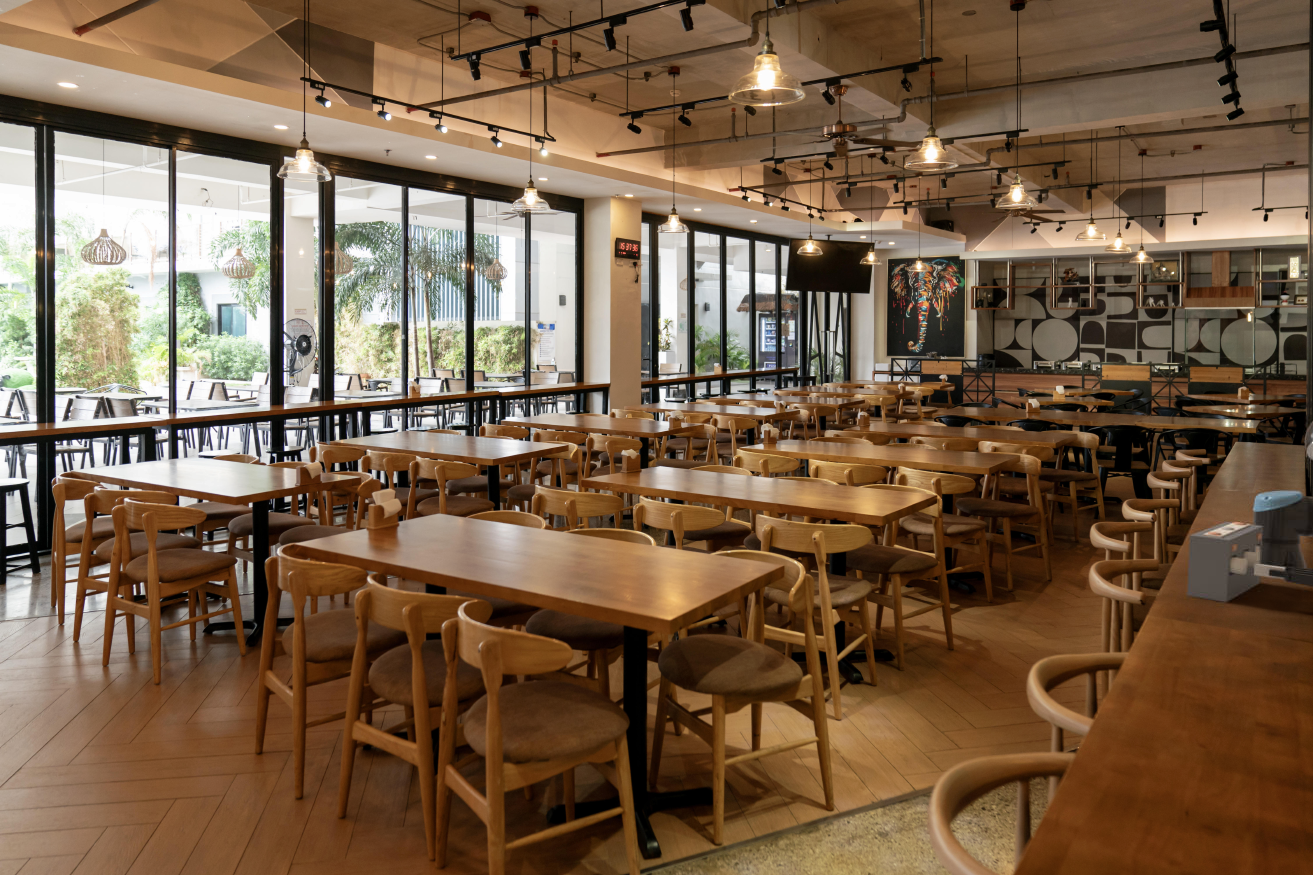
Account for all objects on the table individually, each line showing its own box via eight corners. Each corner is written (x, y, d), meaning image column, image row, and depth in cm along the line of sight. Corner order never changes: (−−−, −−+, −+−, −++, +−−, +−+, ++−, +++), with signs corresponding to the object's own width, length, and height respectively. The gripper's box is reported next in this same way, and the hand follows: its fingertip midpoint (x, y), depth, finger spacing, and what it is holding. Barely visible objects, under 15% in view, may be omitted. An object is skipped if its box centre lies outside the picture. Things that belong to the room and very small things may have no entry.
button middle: (1235, 563, 241) (1236, 548, 241) (1259, 566, 237) (1260, 551, 237) (1231, 565, 239) (1231, 550, 238) (1255, 569, 234) (1255, 554, 234)
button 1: (1222, 569, 234) (1223, 554, 234) (1247, 573, 230) (1247, 557, 229) (1217, 572, 231) (1218, 556, 231) (1242, 575, 227) (1243, 560, 227)
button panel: (1223, 577, 255) (1225, 519, 254) (1261, 583, 248) (1264, 523, 247) (1187, 595, 235) (1190, 532, 234) (1227, 602, 228) (1230, 537, 227)
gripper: (1366, 606, 205) (1246, 588, 222) (1377, 596, 214) (1261, 579, 231) (1368, 574, 204) (1248, 558, 222) (1379, 565, 213) (1263, 550, 230)
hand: (1255, 569), depth 226 cm, fingers closed
